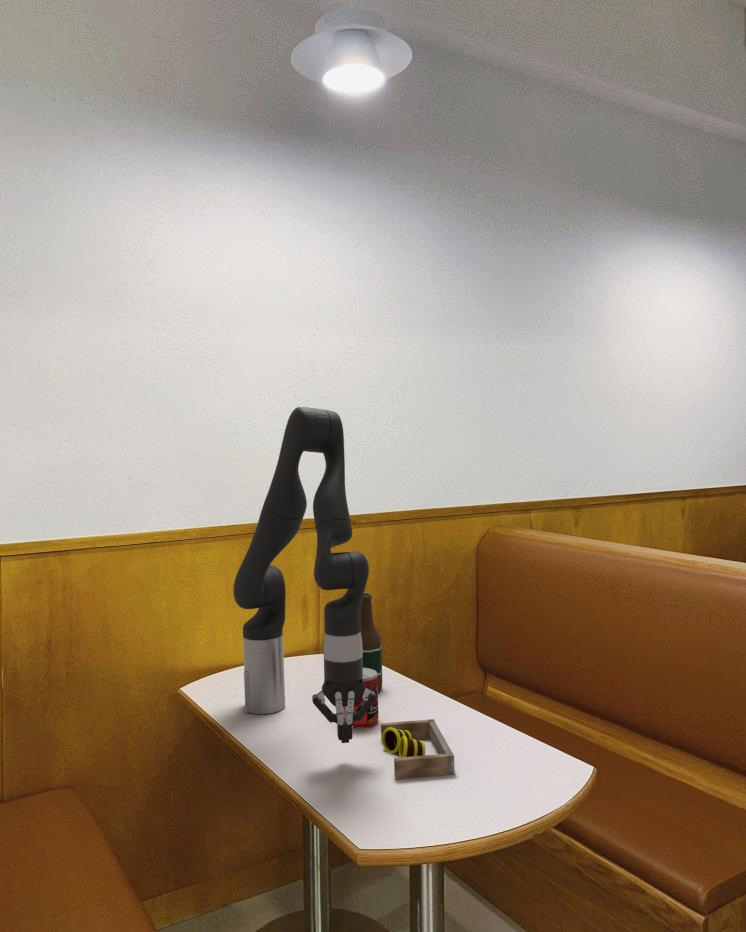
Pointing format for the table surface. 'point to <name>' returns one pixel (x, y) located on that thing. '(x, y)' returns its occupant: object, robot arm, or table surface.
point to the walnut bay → (427, 763)
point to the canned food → (372, 713)
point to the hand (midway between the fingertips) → (344, 741)
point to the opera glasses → (402, 743)
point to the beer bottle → (370, 639)
